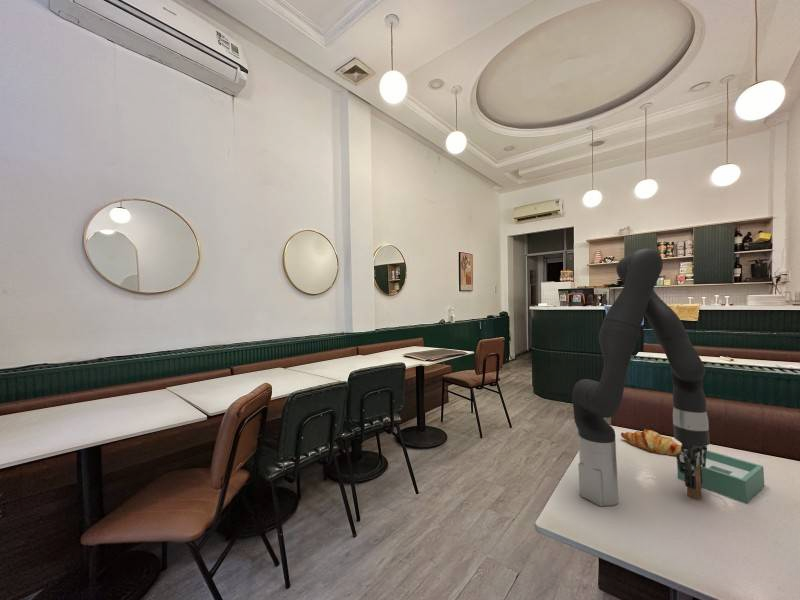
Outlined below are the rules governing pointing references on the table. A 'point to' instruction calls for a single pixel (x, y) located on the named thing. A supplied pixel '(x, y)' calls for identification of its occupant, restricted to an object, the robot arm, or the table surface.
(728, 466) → the box
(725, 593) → the table surface
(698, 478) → the peg
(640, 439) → the croissant
